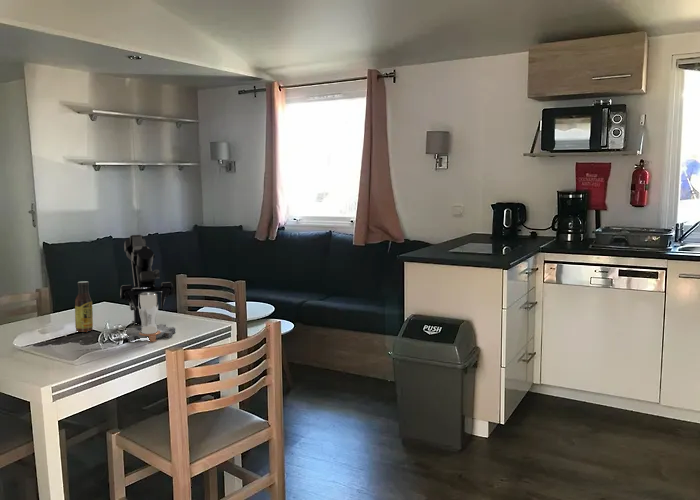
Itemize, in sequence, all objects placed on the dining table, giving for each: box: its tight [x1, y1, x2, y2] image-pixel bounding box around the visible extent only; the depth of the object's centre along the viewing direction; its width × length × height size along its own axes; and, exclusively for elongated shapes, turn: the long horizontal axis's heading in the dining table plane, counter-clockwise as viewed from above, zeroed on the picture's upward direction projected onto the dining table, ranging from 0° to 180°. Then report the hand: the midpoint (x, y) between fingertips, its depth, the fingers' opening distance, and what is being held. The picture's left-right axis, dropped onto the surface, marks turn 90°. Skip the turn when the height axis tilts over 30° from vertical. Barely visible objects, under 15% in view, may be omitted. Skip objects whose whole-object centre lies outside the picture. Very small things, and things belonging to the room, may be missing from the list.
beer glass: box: [138, 292, 159, 335], centre depth 215 cm, size 7×7×15 cm
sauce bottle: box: [74, 280, 94, 333], centre depth 224 cm, size 6×6×20 cm
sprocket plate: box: [125, 324, 176, 343], centre depth 220 cm, size 20×20×2 cm
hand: (149, 308), depth 214 cm, fingers open, 9 cm apart
